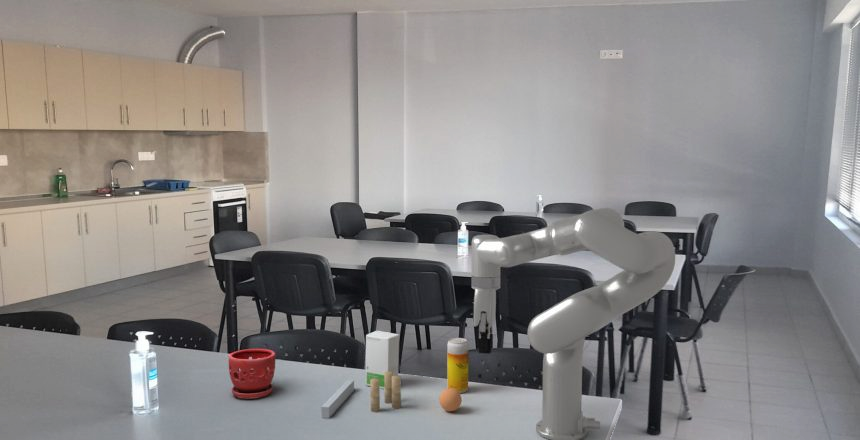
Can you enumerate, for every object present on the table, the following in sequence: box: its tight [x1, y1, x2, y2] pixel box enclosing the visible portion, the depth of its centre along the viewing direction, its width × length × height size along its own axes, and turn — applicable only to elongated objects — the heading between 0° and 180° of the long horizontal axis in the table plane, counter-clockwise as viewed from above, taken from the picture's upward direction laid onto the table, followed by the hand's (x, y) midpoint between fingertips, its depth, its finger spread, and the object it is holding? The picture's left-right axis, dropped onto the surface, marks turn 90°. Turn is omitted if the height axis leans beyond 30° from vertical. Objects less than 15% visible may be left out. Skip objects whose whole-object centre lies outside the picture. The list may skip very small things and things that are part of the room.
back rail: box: [321, 379, 355, 419], centre depth 193 cm, size 2×22×3 cm, turn 169°
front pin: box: [391, 374, 402, 410], centre depth 190 cm, size 2×2×8 cm
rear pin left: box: [370, 378, 381, 413], centre depth 187 cm, size 2×2×8 cm
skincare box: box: [364, 330, 400, 390], centre depth 208 cm, size 8×7×16 cm
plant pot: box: [228, 348, 276, 400], centre depth 201 cm, size 13×13×12 cm
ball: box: [438, 388, 463, 412], centre depth 187 cm, size 6×6×6 cm
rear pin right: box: [384, 371, 393, 404], centre depth 194 cm, size 2×2×8 cm
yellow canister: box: [446, 337, 469, 394], centre depth 202 cm, size 6×6×15 cm
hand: (485, 349), depth 184 cm, fingers open, 3 cm apart
